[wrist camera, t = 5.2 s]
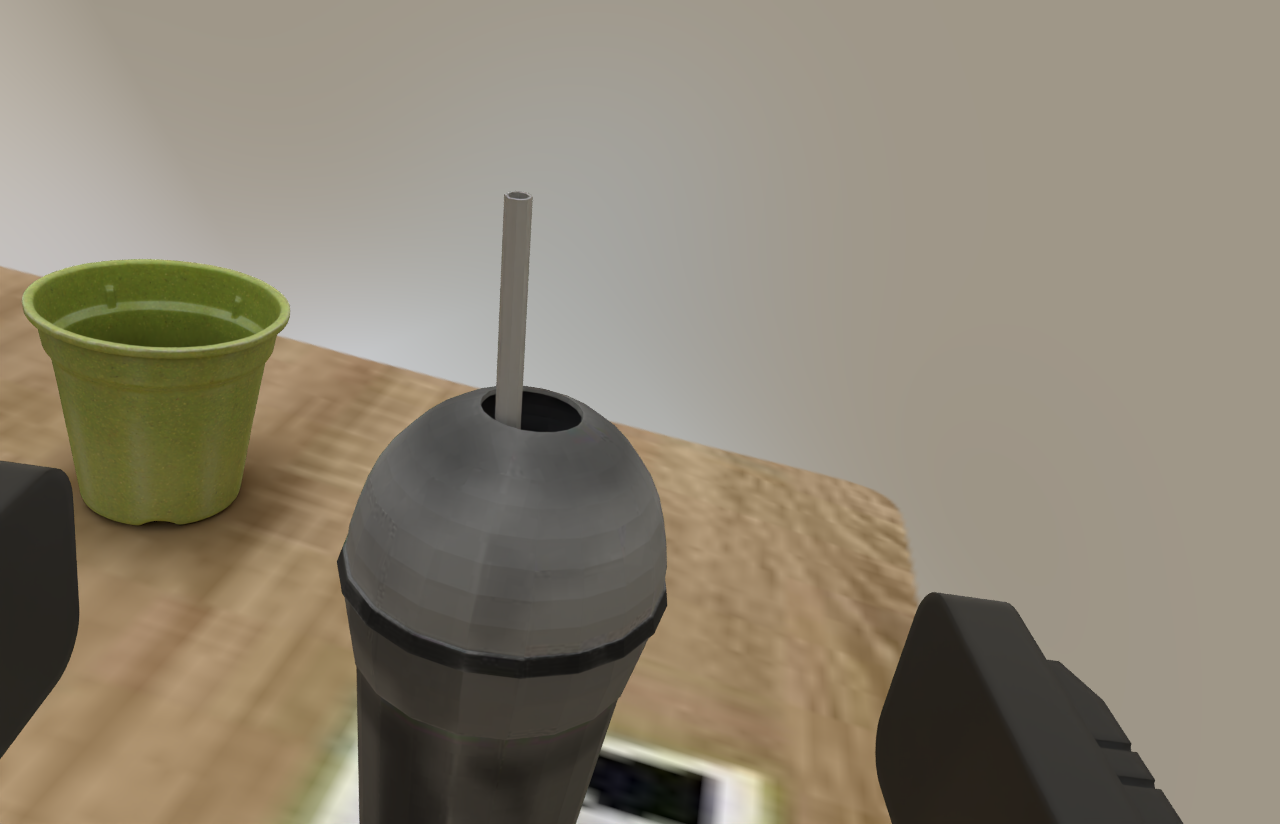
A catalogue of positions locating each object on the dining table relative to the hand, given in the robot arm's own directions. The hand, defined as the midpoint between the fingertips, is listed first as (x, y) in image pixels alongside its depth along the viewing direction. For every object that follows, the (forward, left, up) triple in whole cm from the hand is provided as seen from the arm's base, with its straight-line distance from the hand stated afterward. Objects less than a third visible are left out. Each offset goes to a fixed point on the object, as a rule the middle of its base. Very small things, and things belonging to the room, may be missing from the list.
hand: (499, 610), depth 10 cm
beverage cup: (+8, +8, -19) cm, 22 cm away
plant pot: (+11, +32, -19) cm, 39 cm away
